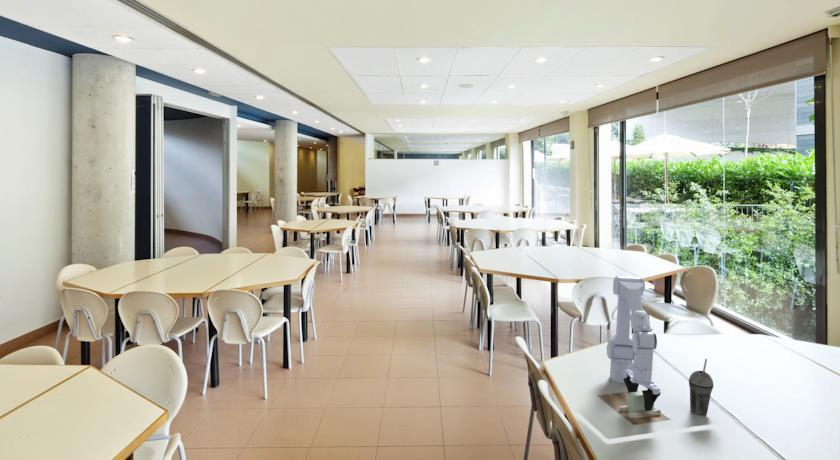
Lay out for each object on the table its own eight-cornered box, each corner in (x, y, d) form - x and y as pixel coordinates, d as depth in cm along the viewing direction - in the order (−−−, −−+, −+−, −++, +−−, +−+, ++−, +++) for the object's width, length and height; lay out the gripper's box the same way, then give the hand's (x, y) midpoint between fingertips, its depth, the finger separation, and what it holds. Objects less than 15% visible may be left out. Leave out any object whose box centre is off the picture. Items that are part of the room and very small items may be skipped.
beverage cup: (681, 410, 158) (685, 355, 156) (700, 409, 159) (705, 354, 157) (695, 421, 151) (700, 364, 149) (716, 420, 152) (721, 363, 149)
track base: (629, 394, 170) (630, 387, 169) (670, 422, 150) (670, 415, 150) (596, 398, 167) (596, 391, 166) (633, 428, 147) (634, 420, 147)
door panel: (648, 409, 157) (649, 390, 156) (653, 413, 154) (654, 393, 153) (627, 412, 155) (629, 392, 154) (632, 415, 152) (634, 396, 152)
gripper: (618, 358, 159) (616, 395, 160) (647, 376, 145) (645, 417, 146) (635, 357, 160) (633, 393, 162) (666, 374, 146) (663, 414, 148)
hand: (640, 404), depth 154 cm, fingers open, 7 cm apart
